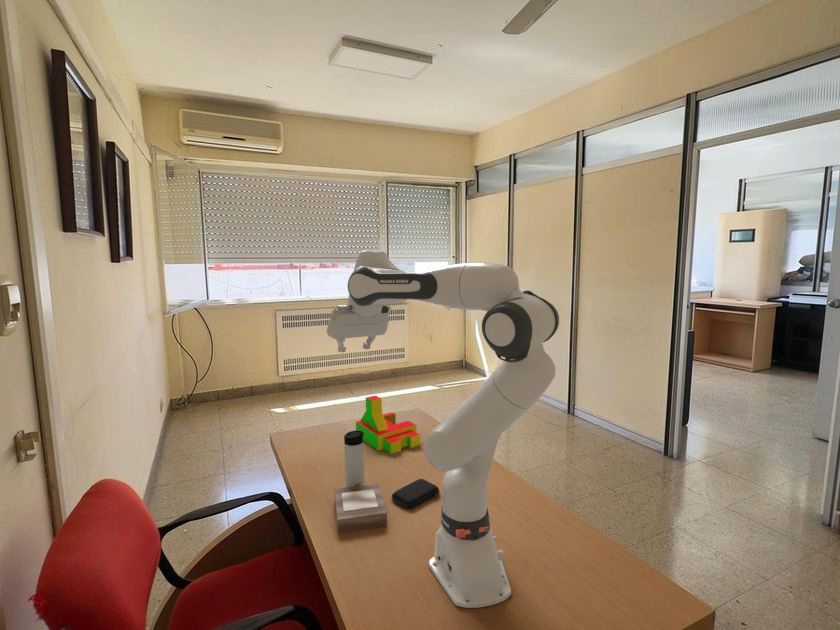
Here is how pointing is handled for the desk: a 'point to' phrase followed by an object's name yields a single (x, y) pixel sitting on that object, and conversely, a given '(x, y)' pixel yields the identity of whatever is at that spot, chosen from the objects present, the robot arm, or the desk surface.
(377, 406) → the building blocks toy
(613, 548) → the desk surface
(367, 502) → the walnut riser
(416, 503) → the carrying case or bag
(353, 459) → the travel mug
